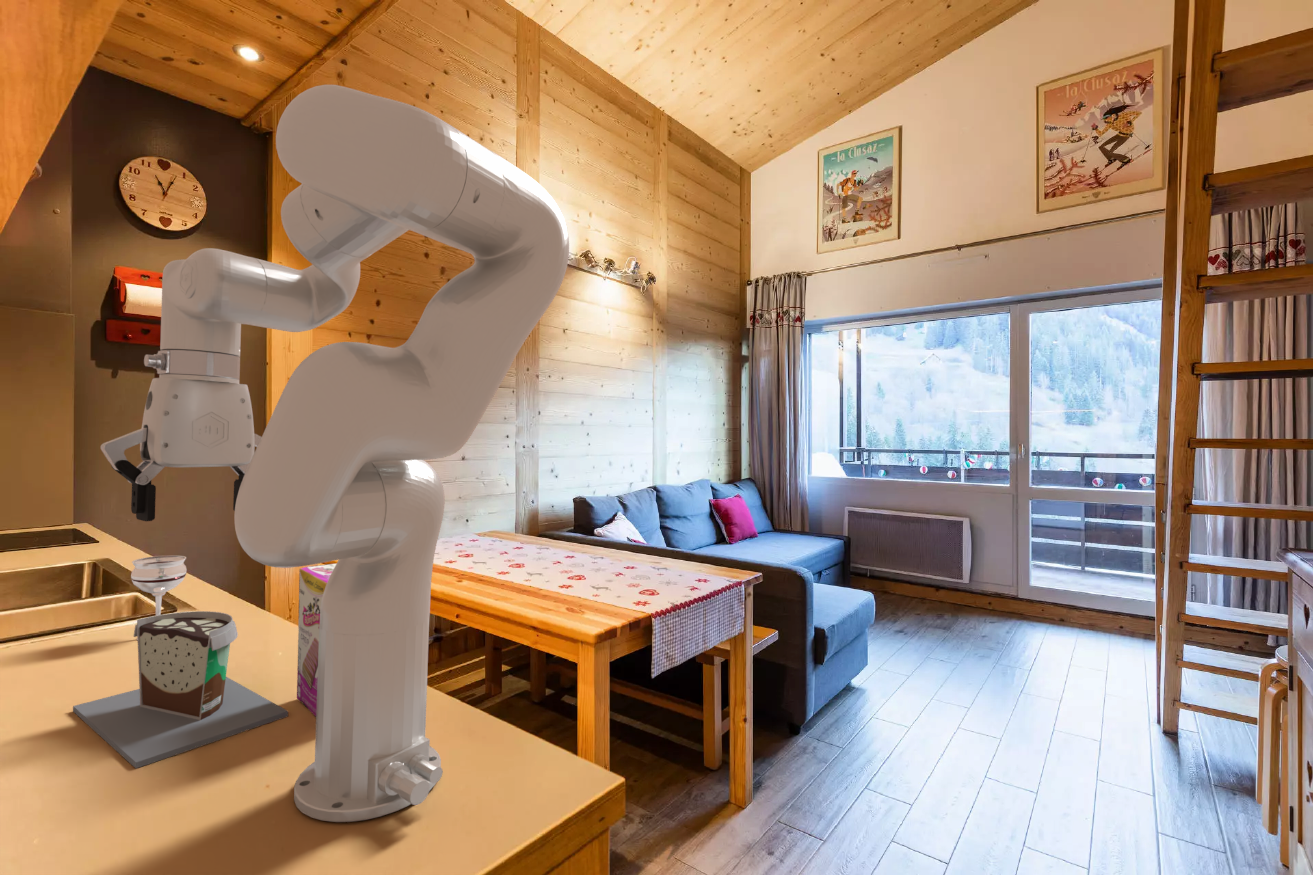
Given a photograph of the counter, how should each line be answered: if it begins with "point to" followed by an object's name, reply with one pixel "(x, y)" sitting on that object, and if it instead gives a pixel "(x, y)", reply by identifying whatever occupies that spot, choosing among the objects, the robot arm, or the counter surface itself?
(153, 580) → the wineglass
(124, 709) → the mat
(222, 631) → the food container
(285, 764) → the counter surface
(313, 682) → the candy bar box
